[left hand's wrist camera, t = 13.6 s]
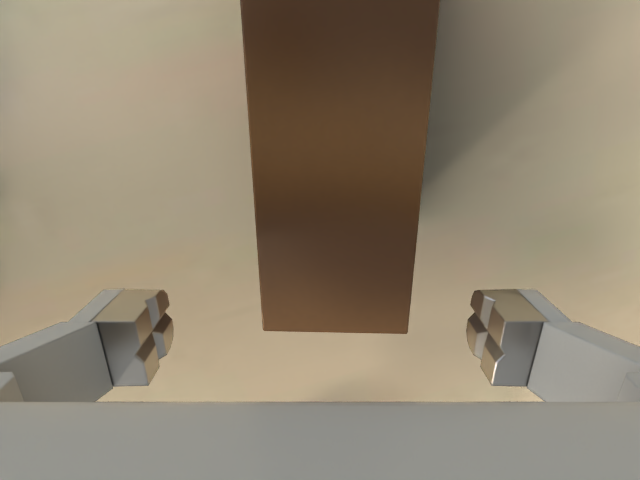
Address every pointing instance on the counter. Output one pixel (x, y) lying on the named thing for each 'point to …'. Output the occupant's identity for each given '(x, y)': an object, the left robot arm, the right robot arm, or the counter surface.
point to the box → (338, 157)
